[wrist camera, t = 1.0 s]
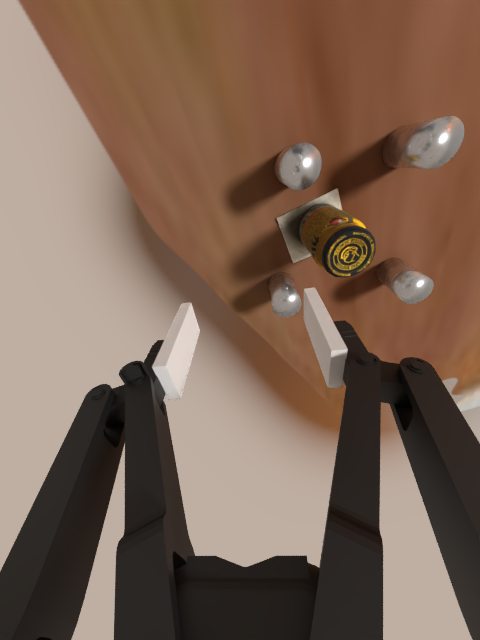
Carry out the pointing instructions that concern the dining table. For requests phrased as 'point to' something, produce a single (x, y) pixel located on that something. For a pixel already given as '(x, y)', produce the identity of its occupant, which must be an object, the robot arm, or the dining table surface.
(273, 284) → the cylinder
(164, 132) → the dining table surface
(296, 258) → the condiment
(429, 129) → the cylinder
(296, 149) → the cylinder
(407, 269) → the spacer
